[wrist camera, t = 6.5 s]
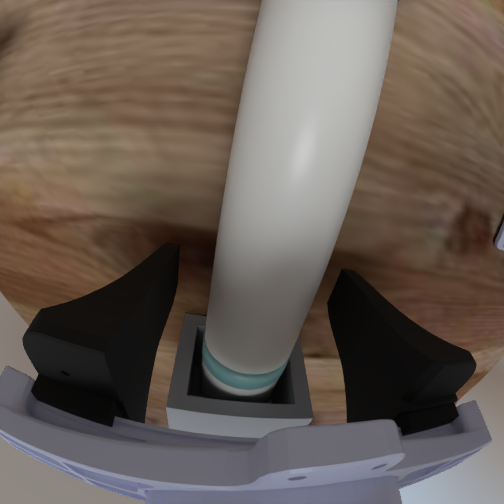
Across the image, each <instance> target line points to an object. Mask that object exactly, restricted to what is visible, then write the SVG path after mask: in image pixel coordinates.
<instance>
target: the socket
mask: <svg viewBox="0 0 504 504" xmlns="http://www.w3.org/2000/svg"><path fill="white" fill-rule="evenodd" d="M206 320H207V316H201V315H194V314H188V313H185V317H184V322H183V326H182V331H181V335H180V340H179V345H178V349H177V354H176V359H175V364H174V369H173V374H172V379H171V384H170V389H169V395H168V400H167V406H166V409H167V416H168V423H169V429H175V430H181V431H187V432H194V433H202V434H210V435H220V436H231V437H246V438H262V437H264V436H265V435H267V434H268V433H270V432H272V431H276V430H279V429H283V428H286V427H296V426H305V425H308V424H309V423H310V422H311V421H312V420H313V412H312V406H311V399H310V393H309V387H308V381H307V375H306V369H305V364H304V358H303V352H302V347H301V341H300V336H298V338H297V340H296V342H295V345H294V347H293V349H292V353H291V356H290V358H289V360H288V363H287V365H286V367H285V369H284V371H283V373H282V375H281V376H280V377H279V379H278V381H277V383H276V385H275V387H274V389H273V391H272V393H271V395H270V397H269V399H268V401H267V403H251V402H238V401H227V400H218V399H210V398H205V397H204V396H203V394H202V391H201V387H200V378H201V367H202V347H203V337H204V331H205V328H206Z"/></svg>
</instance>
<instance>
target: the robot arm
mask: <svg viewBox="0 0 504 504" xmlns="http://www.w3.org/2000/svg"><path fill="white" fill-rule="evenodd" d="M495 246H496V247H497V248H498V249H500V250H503V251H504V221H503V224H502V226H501V228H500V231H499V233H498V235H497V237H496V240H495ZM179 251H180V245H178V244H172V243H165V244H164V245H162V246H161V247H160V248H159V249H157V250H156V251H155V252H154V253H153V254H151V255H150V256H149V257H148V258H147V259H145V260H144V261H143V262H142V263H140V264H139V265H138V266H136V267H135V268H134V269H132V270H131V271H129V272H128V273H127V274H125V275H124V276H122V277H121V278H119V279H117V280H116V281H114V282H112V283H110V284H109V285H107V286H105V287H103V288H101V289H98V290H96V291H94V292H92V293H90V294H88V295H85V296H83V297H80V298H78V299H75V300H72V301H69V302H66V303H63V304H59V305H55V306H51V307H47V308H43V309H41V310H40V311H39V312H38V314H37V315H36V317H35V318H34V320H33V321H32V323H31V324H30V326H29V328H28V329H27V331H26V332H25V334H24V336H23V346H24V349H25V351H26V353H27V355H28V357H29V359H30V360H31V362H32V363H33V365H34V367H35V369H36V370H37V372H38V377H37V379H36V381H34V379H32V378H31V377H30V376H28V375H26V374H24V373H22V372H20V371H18V370H16V369H14V368H11V367H10V366H6V367H5V368H4V371H3V372H2V374H1V376H0V436H1V437H2V438H3V439H5V440H6V441H7V442H8V443H10V444H11V445H12V446H13V447H15V448H16V449H18V450H20V451H22V452H23V453H25V454H27V455H29V456H31V457H32V458H34V459H36V460H38V461H40V462H42V463H44V464H46V465H48V466H50V467H52V468H54V469H56V470H59V471H61V472H63V473H65V474H67V475H70V476H72V477H74V478H77V479H79V480H81V481H84V482H87V483H89V484H92V485H95V486H97V487H100V488H102V489H106V490H108V491H112V492H115V493H118V494H121V495H124V496H127V497H131V498H135V499H138V500H142V501H146V502H145V504H402V501H401V496H400V491H399V489H400V488H403V487H406V486H409V485H411V484H414V483H417V482H419V481H421V480H424V479H427V478H429V477H431V476H434V475H436V474H438V473H441V472H443V471H445V470H447V469H450V468H452V467H454V466H456V465H458V464H459V463H461V462H462V461H464V460H466V459H467V458H469V457H470V456H472V455H473V454H475V453H476V452H478V451H479V450H481V449H482V448H484V447H485V446H487V445H488V444H489V443H491V442H492V438H491V436H490V434H489V431H488V428H487V426H486V423H485V421H484V419H483V416H482V414H481V411H480V409H479V407H478V405H477V402H476V401H471V402H467V403H464V404H462V405H459V406H458V407H456V406H455V404H454V402H456V401H457V396H456V394H455V393H456V392H457V391H458V390H459V389H460V388H461V387H462V386H463V385H464V384H465V383H466V382H467V381H468V380H469V379H470V377H471V376H472V375H473V373H474V372H475V369H476V366H477V365H476V362H475V360H474V358H473V356H472V355H471V353H470V352H469V351H467V350H465V349H462V348H460V347H457V346H455V345H453V344H450V343H448V342H446V341H444V340H442V339H440V338H439V337H437V336H435V335H433V334H431V333H430V332H428V331H427V330H425V329H423V328H422V327H420V326H419V325H417V324H416V323H414V322H413V321H412V320H410V319H409V318H408V317H406V316H405V315H404V314H402V313H401V312H400V311H399V310H398V309H396V308H395V307H394V306H393V305H392V304H391V303H389V302H388V301H387V300H386V299H385V298H384V297H383V296H382V295H381V294H380V293H379V292H377V291H376V290H375V289H374V288H373V287H372V286H371V285H370V284H369V283H368V282H367V281H366V280H364V279H363V278H362V277H361V276H360V275H359V274H357V273H356V272H355V271H353V270H346V269H342V270H341V272H340V274H339V277H338V279H337V282H336V284H335V286H334V289H333V291H332V293H331V295H330V298H329V300H328V302H327V305H328V313H329V320H330V324H331V328H332V331H333V335H334V338H335V342H336V345H337V349H338V352H339V356H340V360H341V364H342V368H343V375H344V383H345V392H346V406H347V423H342V424H327V425H305V426H296V427H286V428H283V429H279V430H276V431H272V432H270V433H268V434H267V435H265V436H264V437H262V438H246V437H231V436H220V435H210V434H202V433H194V432H187V431H181V430H175V429H169V428H164V427H158V426H154V425H149V424H145V415H146V407H147V400H148V394H149V388H150V382H151V376H152V371H153V366H154V361H155V357H156V352H157V348H158V345H159V341H160V339H161V336H162V333H163V330H164V327H165V324H166V322H167V319H168V316H169V313H170V311H171V308H172V305H173V302H174V298H175V294H176V289H177V285H178V269H179Z"/></svg>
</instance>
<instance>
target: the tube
mask: <svg viewBox="0 0 504 504" xmlns="http://www.w3.org/2000/svg"><path fill="white" fill-rule="evenodd" d="M397 2H398V0H262V1H261V6H260V10H259V14H258V18H257V23H256V27H255V31H254V36H253V40H252V45H251V50H250V54H249V59H248V64H247V69H246V73H245V78H244V83H243V88H242V93H241V98H240V104H239V109H238V114H237V120H236V125H235V130H234V136H233V142H232V147H231V153H230V159H229V165H228V171H227V177H226V183H225V189H224V195H223V202H222V208H221V215H220V222H219V228H218V235H217V242H216V249H215V257H214V264H213V272H212V279H211V287H210V295H209V303H208V312H207V320H206V328H205V331H204V337H203V347H202V367H201V378H200V387H201V391H202V394H203V396H204V397H205V398H210V399H218V400H227V401H238V402H251V403H267V401H268V399H269V397H270V395H271V393H272V391H273V389H274V387H275V385H276V383H277V381H278V379H279V377H280V376H281V375H282V373H283V371H284V369H285V367H286V365H287V363H288V360H289V358H290V356H291V353H292V349H293V347H294V345H295V342H296V340H297V338H298V336H299V333H300V331H301V329H302V327H303V324H304V322H305V320H306V317H307V315H308V312H309V310H310V308H311V305H312V303H313V300H314V298H315V296H316V293H317V291H318V288H319V286H320V283H321V281H322V278H323V275H324V273H325V270H326V268H327V265H328V262H329V260H330V257H331V254H332V252H333V249H334V246H335V244H336V241H337V238H338V235H339V232H340V230H341V227H342V224H343V221H344V218H345V215H346V212H347V209H348V206H349V203H350V200H351V197H352V194H353V191H354V188H355V184H356V181H357V178H358V175H359V171H360V168H361V165H362V161H363V158H364V155H365V151H366V148H367V144H368V140H369V137H370V133H371V129H372V126H373V122H374V118H375V114H376V110H377V106H378V102H379V98H380V94H381V89H382V85H383V80H384V76H385V71H386V66H387V61H388V56H389V51H390V46H391V40H392V35H393V29H394V23H395V16H396V9H397Z"/></svg>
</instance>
